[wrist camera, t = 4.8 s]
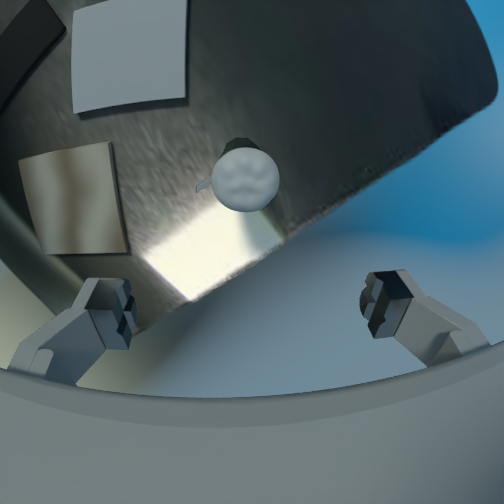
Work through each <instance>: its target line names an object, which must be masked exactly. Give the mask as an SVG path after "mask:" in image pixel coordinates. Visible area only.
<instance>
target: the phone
mask: <svg viewBox="0 0 504 504" xmlns="http://www.w3.org/2000/svg"><path fill="white" fill-rule="evenodd" d="M65 30H66V27H65V26H64V24H63V23H62V21H61V20H60V19H59V17H58V16H57V15H56V13H55V12H54V10H53V9H52V8H51V6H50V5H49V4H48V2H47V1H46V0H30V1H29V2H28V3H27V4H26V5H25V6H24V7H23V9H22V10H21V11H20V12H19V13H18V14H17V16H16V17H15V18H14V19H13V20H12V22H11V23H10V24H9V25H8V27H7V28H6V29H5V30H4V32H3V33H2V34H1V36H0V113H1V111H2V110H3V108H4V107H5V105H6V104H7V102H8V101H9V99H10V98H11V96H12V95H13V93H14V92H15V91H16V89H17V88H18V86H19V85H20V84H21V82H22V81H23V80H24V78H25V77H26V76H27V75H28V73H29V72H30V71H31V70H32V68H33V67H34V66H35V65H36V63H37V62H38V61H39V60H40V59H41V57H42V56H43V55H44V54H45V53H46V52H47V51H48V50H49V48H50V47H51V46H52V45H53V44H54V43H55V42H56V41H57V40H58V39H59V38H60V37H61V36H62V35H63V33H64V32H65Z"/></svg>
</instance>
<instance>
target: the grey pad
mask: <svg viewBox="0 0 504 504" xmlns="http://www.w3.org/2000/svg"><path fill="white" fill-rule="evenodd" d="M187 7H188V0H109V1H105V2H102V3H98V4H95V5H91V6H88V7H85V8H82V9H79V10H76V11H74V15H73V29H72V58H71V68H72V98H73V112H74V114H75V113H79V112H84V111H89V110H93V109H98V108H104V107H109V106H115V105H121V104H128V103H135V102H142V101H150V100H159V99H170V98H182V97H186V32H187Z"/></svg>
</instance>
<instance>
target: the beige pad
mask: <svg viewBox="0 0 504 504" xmlns="http://www.w3.org/2000/svg"><path fill="white" fill-rule="evenodd" d="M18 163H19V168H20V173H21V178H22V183H23V187H24V191H25V196H26V200H27V203H28V207H29V211H30V214H31V218H32V221H33V225H34V228H35V231H36V234H37V237H38V240H39V243H40V246H41V249H42V252H43V254H81V253H125V252H127V251H128V249H129V248H128V244H127V239H126V234H125V229H124V224H123V219H122V214H121V208H120V203H119V197H118V190H117V184H116V177H115V170H114V162H113V154H112V145H111V141H110V142H103V143H97V144H90V145H85V146H79V147H73V148H68V149H63V150H58V151H54V152H49V153H44V154H40V155H36V156H32V157H28V158H24V159H21V160H19V161H18Z"/></svg>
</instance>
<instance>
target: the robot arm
mask: <svg viewBox="0 0 504 504" xmlns="http://www.w3.org/2000/svg"><path fill="white" fill-rule="evenodd" d="M365 283H366V285H367V287H366V288H365V289H364V290H363V291H362V292H361V295H360V310H361V313H362V315H363V317H365V318H366V319H367V320H369V322H368V328H369V330H370V332H371V334H372V336H373V338H374V339H378V338H386V337H392V336H394V338H395V339H396V340H397V341H398V342H400V343H401V344H402V345H403V346H404V347H405V348H407V349H408V350H409V351H410V352H411V353H412V354H413V355H415V356H416V357H417V358H418V359H419V360H420V361H422V362H423V363H424V364H425V365H426V366H427V368H425V369H421V370H418V371H414V372H410V373H406V374H402V375H398V376H394V377H390V378H386V379H381V380H377V381H372V382H367V383H362V384H356V385H351V386H346V387H340V388H334V389H326V390H319V391H312V392H304V393H295V394H285V395H272V396H258V397H237V398H236V397H235V398H183V397H162V396H147V395H136V394H126V393H118V392H109V391H102V390H95V389H89V388H82V387H77V385H76V384H75V383H76V382H77V381H78V380H79V379H80V378H81V377H82V376H83V375H84V373H85V372H86V371H87V370H88V369H89V368H90V367H91V366H92V365H93V363H95V361H96V360H97V359H98V358H99V357H100V356H101V355H102V354H103V353H104V352H105V351H106V349H120V350H128V349H129V345H130V341H131V338H132V333H131V330H130V329H131V328H132V327H134V326H135V324H136V320H137V305H136V301H135V298H134V297H132V296H131V295H130V292H131V289H132V287H131V284H130V281H129V280H128V279H123V278H88V279H86V281H85V283H84V284H83V286H82V288H81V290H80V292H79V293H78V295H77V297H76V299H75V301H74V303H73V305H72V307H71V309H65V310H64V311H63V312H61V313H60V314H58V315H57V316H56V317H54V318H53V319H51V320H50V321H49V322H47V323H46V324H45V325H43V326H42V327H41V328H39V329H38V330H36V331H35V332H34V333H32V334H31V335H30V336H28V337H27V338H26V339H24V340H23V341H22V342H20V344H19V346H18V347H17V349H16V352H15V354H14V356H13V358H12V360H11V362H10V364H9V366H8V368H7V370H6V369H3V368H0V504H504V341H502V342H499V343H497V344H495V345H492V346H491V345H490V344H489V342H488V340H487V339H486V337H485V336H484V334H483V333H482V331H481V330H480V328H479V327H478V326H477V324H476V323H474V322H472V321H471V320H469V319H467V318H466V317H464V316H462V315H461V314H459V313H457V312H456V311H454V310H452V309H451V308H449V307H447V306H446V305H444V304H442V303H440V302H439V301H437V300H435V299H434V298H432V297H430V296H426V295H425V294H424V292H423V291H422V290H421V288H420V287H419V286H418V284H417V283H416V282H415V280H414V279H413V278H412V276H411V275H410V274H409V272H408V271H406V270H405V269H402V270H393V271H381V272H369V273H368V275H367V276H366V279H365Z"/></svg>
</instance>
